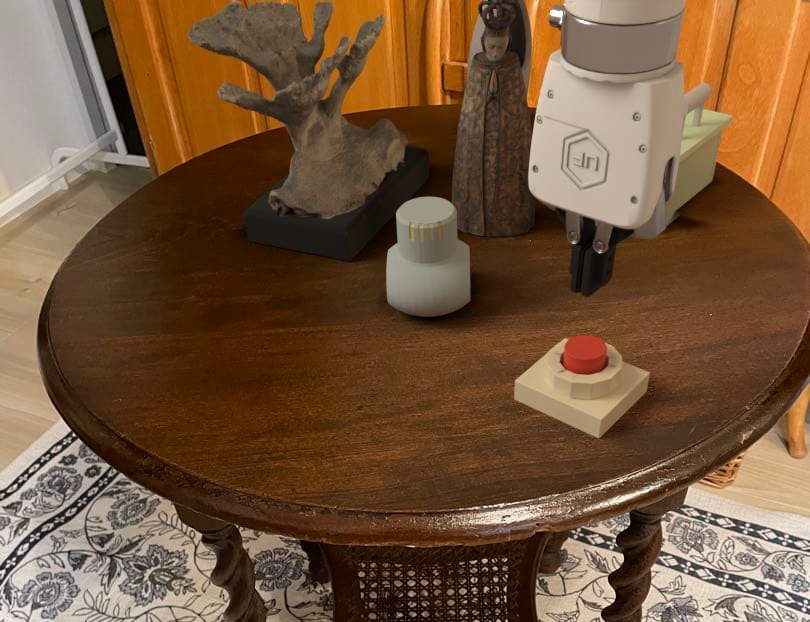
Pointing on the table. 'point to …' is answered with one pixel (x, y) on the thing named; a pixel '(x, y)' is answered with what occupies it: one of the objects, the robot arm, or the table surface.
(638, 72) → the robot arm
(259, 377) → the table surface
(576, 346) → the button
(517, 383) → the control block
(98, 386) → the table surface
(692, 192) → the chest
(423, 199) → the air freshener
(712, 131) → the lid
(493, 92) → the statue
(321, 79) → the coral
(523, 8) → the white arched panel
